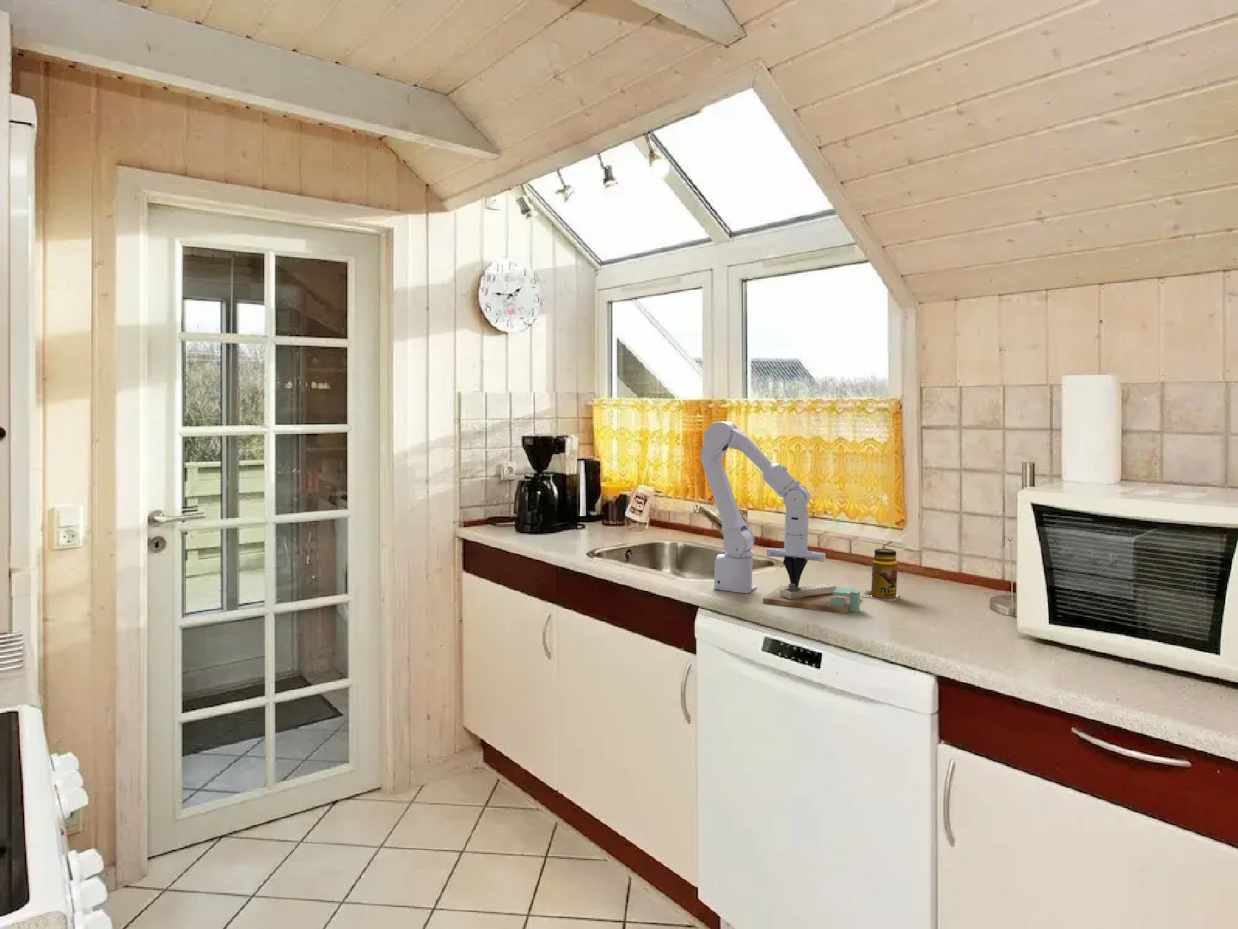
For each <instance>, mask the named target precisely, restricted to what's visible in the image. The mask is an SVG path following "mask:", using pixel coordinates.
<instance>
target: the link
mask: <svg viewBox="0 0 1238 929" xmlns="http://www.w3.org/2000/svg"><path fill="white" fill-rule="evenodd" d="M836 588H837V585H834V584H830V583H822V584H816V585H806V586H798V587H797V588H795V591H793V592H790V591H788V588H784V589H780V596H783V597H786V598H789V599H795V598H802V597H805V596H813V595H821V594H828V593H833V591H834V590H835V589H836Z"/></svg>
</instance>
